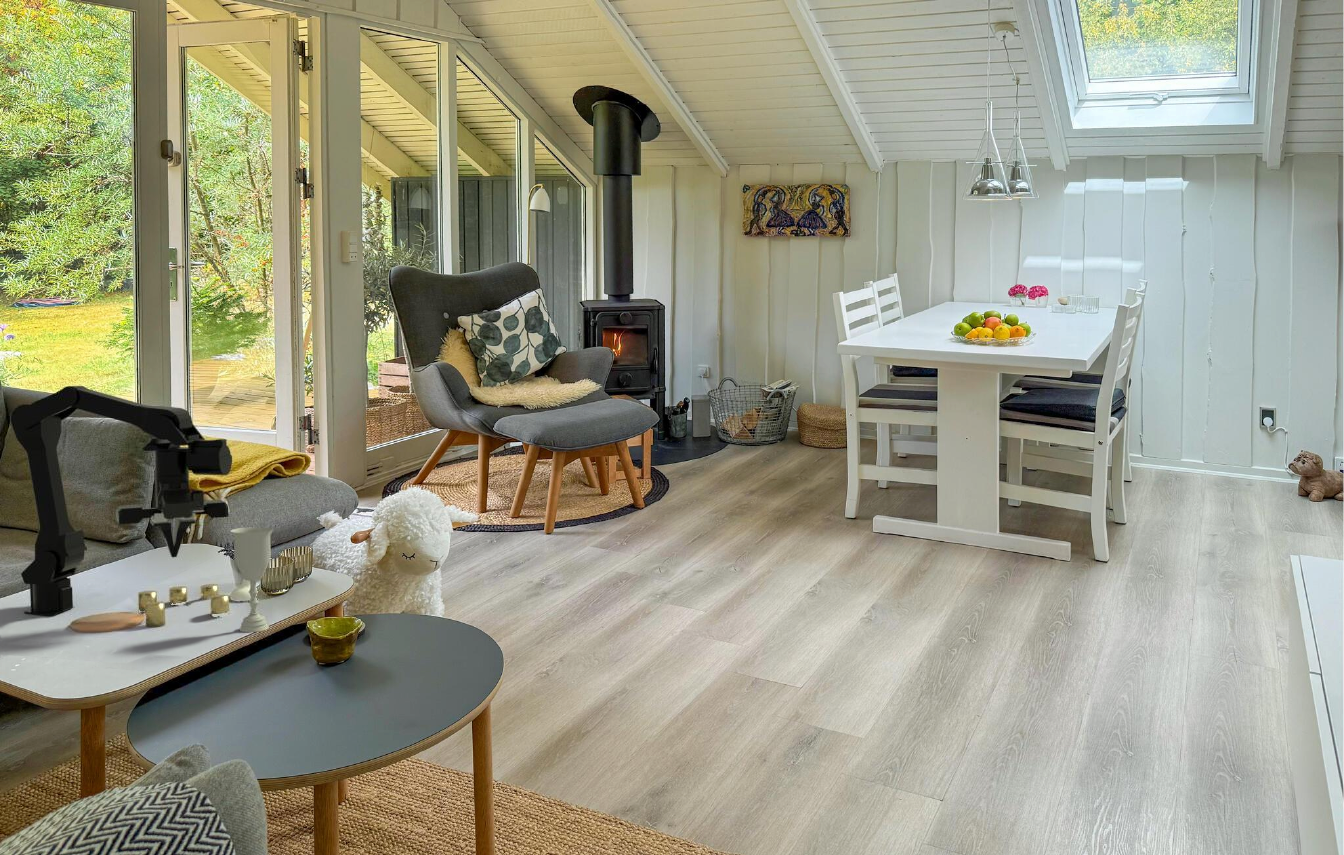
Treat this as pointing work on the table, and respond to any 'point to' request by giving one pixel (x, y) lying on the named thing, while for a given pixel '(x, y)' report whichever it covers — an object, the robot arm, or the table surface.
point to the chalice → (252, 568)
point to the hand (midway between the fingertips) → (173, 556)
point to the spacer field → (178, 595)
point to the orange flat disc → (107, 622)
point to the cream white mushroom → (241, 591)
